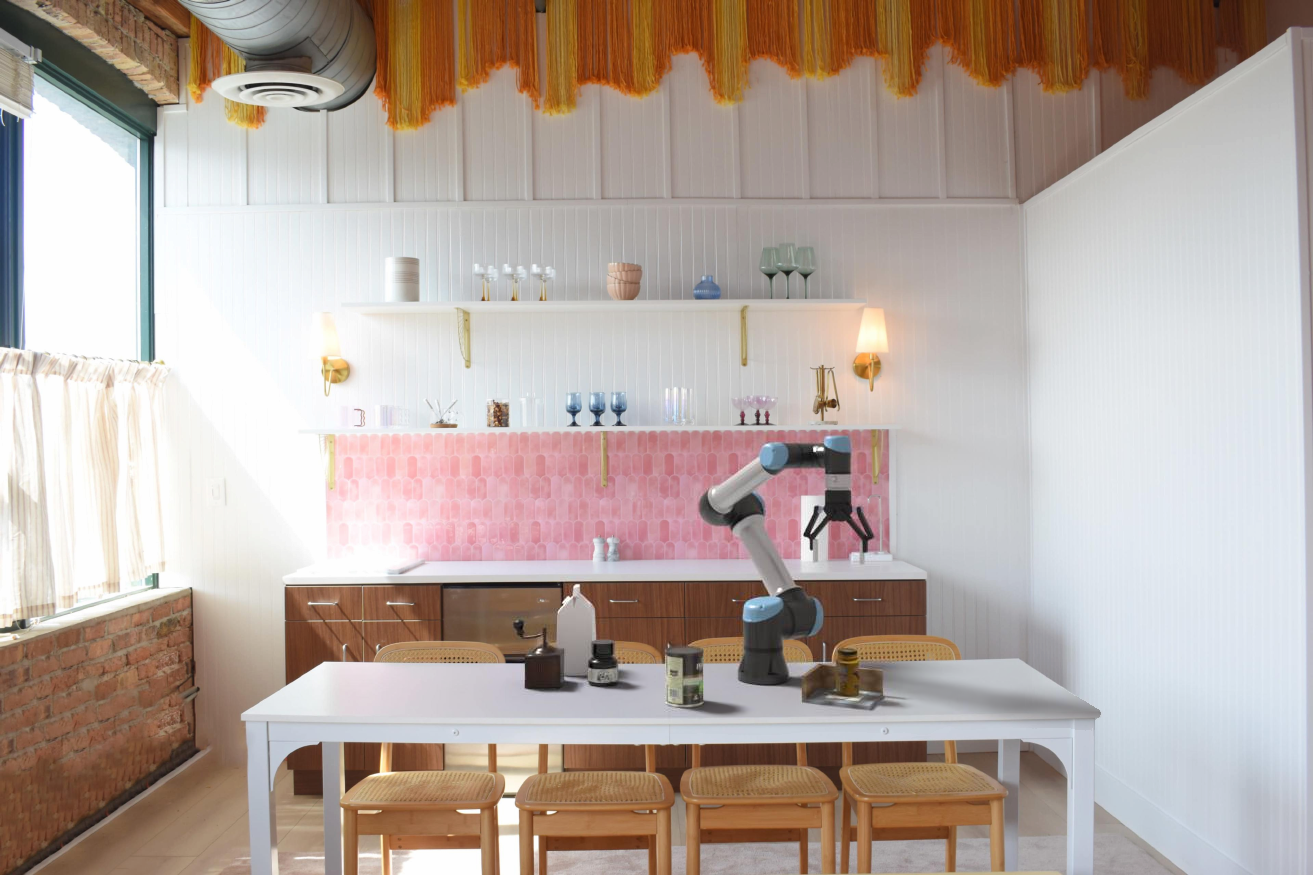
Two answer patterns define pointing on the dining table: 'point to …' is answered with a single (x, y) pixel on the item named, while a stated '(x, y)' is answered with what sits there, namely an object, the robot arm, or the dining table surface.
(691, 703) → the coffee can
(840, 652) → the condiment
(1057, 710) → the dining table surface
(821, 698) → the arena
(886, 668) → the dining table surface
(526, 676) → the manual coffee grinder
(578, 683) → the dining table surface
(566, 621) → the milk
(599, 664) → the ink bottle
